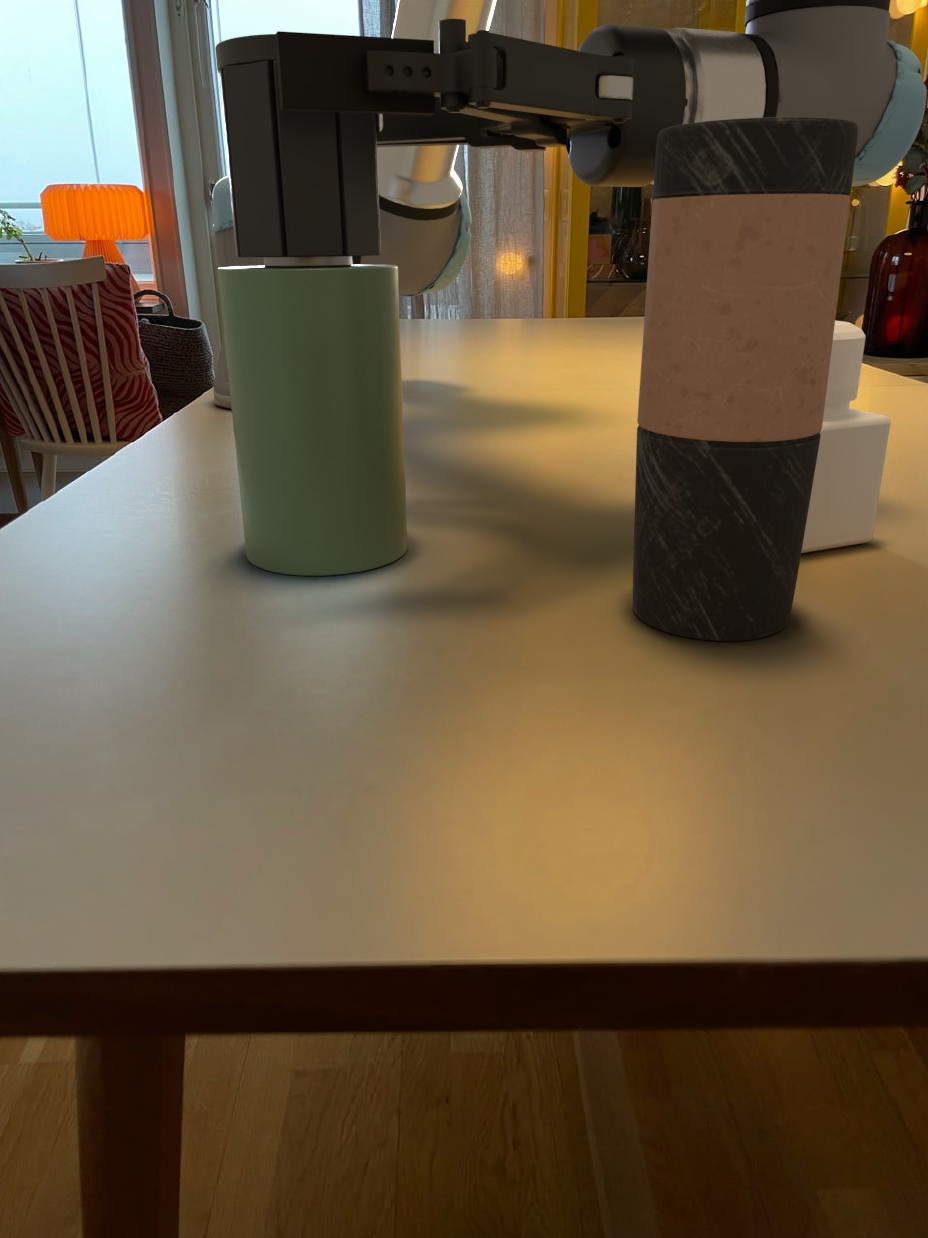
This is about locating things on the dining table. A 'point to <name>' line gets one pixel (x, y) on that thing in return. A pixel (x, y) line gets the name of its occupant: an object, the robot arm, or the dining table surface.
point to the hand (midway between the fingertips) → (255, 95)
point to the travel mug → (735, 367)
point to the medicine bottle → (846, 454)
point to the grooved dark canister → (294, 165)
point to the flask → (317, 412)
